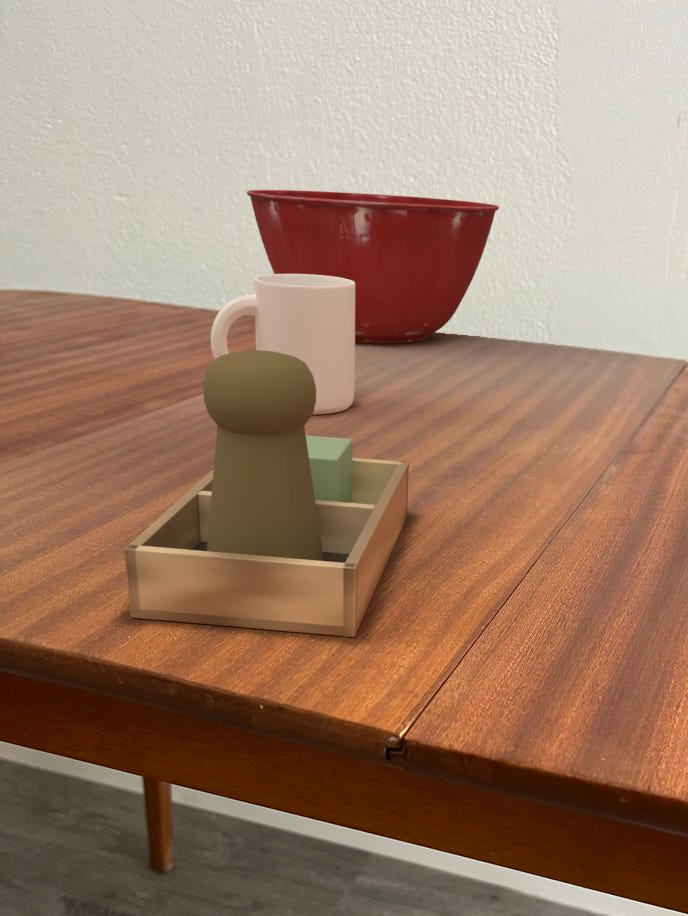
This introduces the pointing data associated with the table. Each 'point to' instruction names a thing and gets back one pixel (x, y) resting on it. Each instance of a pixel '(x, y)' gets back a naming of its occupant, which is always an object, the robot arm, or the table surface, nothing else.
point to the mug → (302, 329)
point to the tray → (271, 562)
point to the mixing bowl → (379, 252)
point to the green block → (331, 468)
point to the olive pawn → (262, 456)
